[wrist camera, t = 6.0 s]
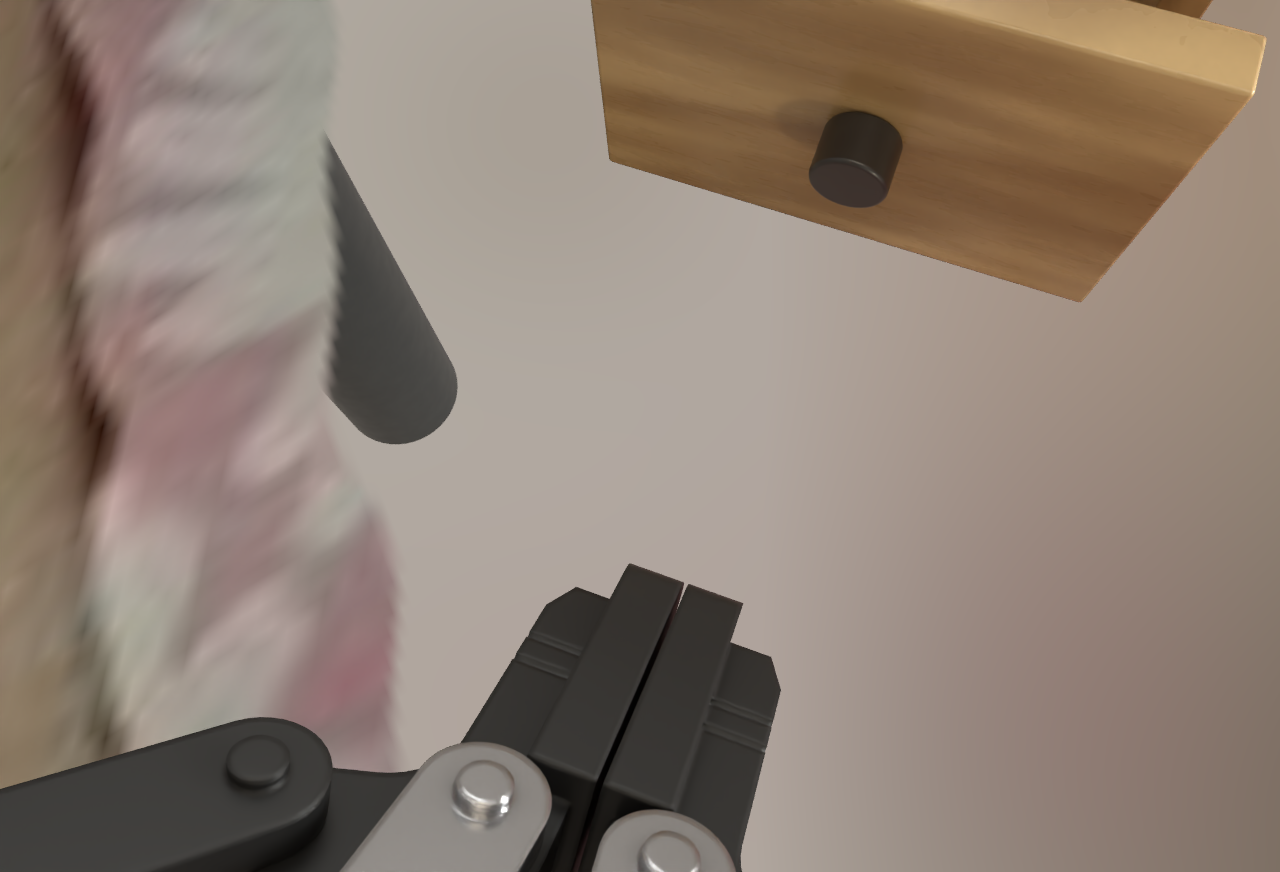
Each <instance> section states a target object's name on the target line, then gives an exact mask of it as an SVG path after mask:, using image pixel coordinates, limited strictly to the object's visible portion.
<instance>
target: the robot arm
mask: <svg viewBox="0 0 1280 872" xmlns="http://www.w3.org/2000/svg"><path fill="white" fill-rule="evenodd" d="M683 586H684V583H683V582H681V581H678V580H675V579H673V578H670V577H667V576H664V575H661V574H659V573H655V572H653V571H650V570H647V569H644V568H641V567H638V566H636V565H633V564H629V565H628V566H627V568H626V570H625V571H624V573H623V575H622V577H621V579H620V581H619V583H618V584H617V586H616V588H615V590H614V592H613V594H612V596H611V598H610V599H608V598H605V597H602V596H600V595H597V594H594V593H592V592H589V591H586V590H583V589H580V588H578V587H575V588H574V589H572V590H571V591H569V592H567V593H565V594H564V595H562V596H560V597H558V598H557V599H555V600H553V601H552V602H550V603H548V604H547V605H546V606H545V608H544V609H543V611H542V612H541V614H540V616H539V617H538V619H537V621H536V622H535V624H534V626H533V627H532V629H531V630H530V633H529V636H528V637H526V638H525V640H524V642H523V643H522V645H521V646H520V648H519V650H518V651H517V653H516V656H515V658H514V659H512V661H511V663H510V664H509V666H508V668H507V669H506V671H505V672H504V674H503V676H502V677H501V679H500V681H499V682H498V684H497V685H496V687H495V689H494V690H493V692H492V693H491V695H490V697H489V698H488V700H487V702H486V703H485V705H484V706H483V708H482V710H481V711H480V713H479V715H478V716H477V718H476V719H475V721H474V723H473V724H472V726H471V727H470V729H469V731H468V732H467V734H466V736H465V737H464V739H463V740H462V741H461V743H460V744H456V745H453V746H450V747H447V748H445V749H443V750H441V751H439V752H437V753H435V754H434V755H433V756H432V757H430V758H429V759H428V760H427V761H426V762H425V763H424V764H423V765H422V766H421V767H420V769H417V770H412V771H407V772H398V773H378V772H368V771H358V770H348V769H338V768H332V767H333V766H332V760H331V756H330V753H329V751H328V749H327V747H326V746H325V744H324V743H323V741H322V740H321V739H320V738H319V737H318V736H317V735H316V734H315V733H313V732H312V731H310V730H309V729H307V728H306V727H303V726H301V725H299V724H297V723H294V722H291V721H287V720H284V719H277V718H264V717H258V718H248V719H243V720H238V721H234V722H230V723H227V724H223V725H220V726H216V727H213V728H210V729H206V730H203V731H199V732H196V733H192V734H189V735H185V736H182V737H179V738H175V739H172V740H168V741H165V742H161V743H158V744H154V745H151V746H147V747H144V748H141V749H137V750H134V751H130V752H127V753H123V754H120V755H116V756H113V757H110V758H106V759H103V760H99V761H96V762H92V763H89V764H85V765H82V766H78V767H75V768H72V769H68V770H65V771H61V772H58V773H54V774H51V775H47V776H44V777H41V778H37V779H34V780H30V781H27V782H23V783H20V784H16V785H13V786H10V787H6V788H3V789H0V872H742V870H741V857H740V855H741V849H742V843H743V840H744V835H745V832H746V828H747V823H748V819H749V816H750V811H751V808H752V803H753V800H754V795H755V792H756V788H757V783H758V780H759V775H760V771H761V767H762V763H763V759H764V755H765V750H766V747H767V743H768V739H769V735H770V731H771V726H772V722H773V719H774V715H775V711H776V707H777V703H778V699H779V695H780V691H781V689H780V686H779V682H778V679H777V676H776V673H775V669H774V665H773V662H772V659H771V657H769V656H767V655H764V654H761V653H758V652H756V651H753V650H750V649H747V648H744V647H742V646H739V645H736V644H734V643H731V642H730V641H731V638H732V635H733V632H734V629H735V626H736V623H737V620H738V617H739V614H740V611H741V608H742V605H743V603H741V602H738V601H735V600H732V599H730V598H727V597H724V596H721V595H718V594H716V593H713V592H709V591H707V590H704V589H701V588H699V587H696V586H693V585H690V584H688V586H687V588H686V590H685V592H684V595H683V597H682V600H681V602H680V605H679V607H678V604H679V600H680V597H681V594H682V590H683ZM677 607H678V609H677Z"/></svg>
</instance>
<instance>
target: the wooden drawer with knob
mask: <svg viewBox="0 0 1280 872" xmlns="http://www.w3.org/2000/svg"><path fill="white" fill-rule="evenodd" d="M1212 1H1213V0H591V6H592V13H593V22H594V31H595V39H596V48H597V57H598V66H599V74H600V83H601V91H602V100H603V107H604V108H603V109H604V117H605V125H606V134H607V143H608V151H609V159H610V160H611V161H612V162H616V163H619V164H622V165H625V166H629V167H632V168H635V169H639V170H642V171H645V172H649V173H652V174H655V175H659V176H662V177H665V178H669V179H672V180H675V181H678V182H682V183H685V184H688V185H692V186H695V187H698V188H702V189H705V190H708V191H712V192H715V193H719V194H722V195H725V196H728V197H732V198H735V199H738V200H741V201H745V202H748V203H752V204H755V205H758V206H761V207H765V208H768V209H771V210H775V211H778V212H781V213H785V214H788V215H791V216H795V217H798V218H801V219H805V220H808V221H811V222H815V223H818V224H821V225H824V226H828V227H831V228H834V229H838V230H841V231H844V232H848V233H851V234H854V235H858V236H861V237H864V238H868V239H871V240H874V241H878V242H881V243H885V244H887V245H891V246H894V247H898V248H901V249H904V250H907V251H911V252H914V253H917V254H921V255H924V256H927V257H930V258H934V259H937V260H941V261H944V262H947V263H950V264H954V265H957V266H960V267H964V268H967V269H971V270H974V271H977V272H980V273H984V274H987V275H990V276H994V277H997V278H1000V279H1004V280H1007V281H1010V282H1013V283H1017V284H1020V285H1023V286H1027V287H1030V288H1033V289H1037V290H1040V291H1044V292H1047V293H1050V294H1053V295H1056V296H1060V297H1063V298H1066V299H1070V300H1073V301H1076V302H1082V301H1083V300H1084V298H1085V297H1086V296H1087V295H1088V294H1089V293H1090V291H1091V290H1092V289H1093V288H1094V286H1095V285H1096V284H1097V283H1098V282H1099V280H1100V279H1101V278H1102V277H1103V276H1104V275H1105V273H1106V272H1107V271H1108V270H1109V268H1110V267H1111V266H1112V265H1113V264H1114V262H1115V261H1116V260H1117V259H1118V258H1119V256H1120V255H1121V254H1122V253H1123V252H1124V250H1125V249H1126V248H1127V247H1128V246H1129V244H1130V243H1131V242H1132V241H1133V240H1134V238H1135V237H1136V236H1137V235H1138V234H1139V232H1140V231H1141V230H1142V229H1143V228H1144V226H1145V225H1146V224H1147V223H1148V221H1149V220H1150V219H1151V218H1152V217H1153V215H1154V214H1155V213H1156V212H1157V211H1158V210H1159V208H1160V207H1161V206H1162V205H1163V203H1164V202H1165V201H1166V200H1167V199H1168V198H1169V196H1170V195H1171V194H1172V193H1173V192H1174V190H1175V189H1176V188H1177V187H1178V185H1179V184H1180V183H1181V182H1182V181H1183V179H1184V178H1185V177H1186V176H1187V175H1188V173H1189V172H1190V171H1191V170H1192V169H1193V167H1194V166H1195V165H1196V164H1197V163H1198V161H1199V160H1200V159H1201V158H1202V157H1203V155H1204V154H1205V153H1206V152H1207V151H1208V149H1209V148H1210V147H1211V146H1212V144H1213V143H1214V142H1215V141H1216V140H1217V139H1218V137H1219V136H1220V135H1221V134H1222V132H1223V131H1224V130H1225V129H1226V127H1228V125H1229V124H1230V123H1231V122H1232V121H1233V119H1234V118H1235V117H1236V116H1237V115H1238V113H1239V112H1240V111H1241V110H1242V108H1243V107H1244V106H1245V105H1246V104H1247V102H1248V101H1249V100H1250V99H1251V98H1252V97H1253V95H1254V93H1255V89H1256V85H1257V80H1258V75H1259V72H1260V67H1261V63H1262V59H1263V54H1264V50H1265V46H1266V37H1264V36H1262V35H1259V34H1255V33H1251V32H1247V31H1244V30H1239V29H1236V28H1232V27H1228V26H1224V25H1221V24H1216V23H1213V22H1209V21H1205V20H1201V17H1202V15H1203V14H1204V13H1205V11H1206V10H1207V8H1208V7H1209V5H1210V4H1211V2H1212Z"/></svg>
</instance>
